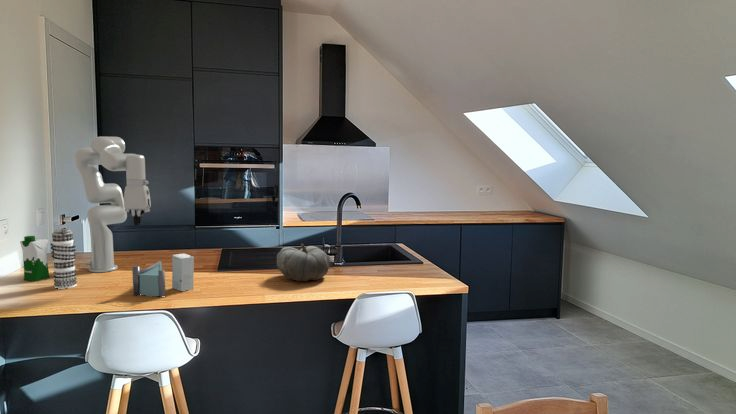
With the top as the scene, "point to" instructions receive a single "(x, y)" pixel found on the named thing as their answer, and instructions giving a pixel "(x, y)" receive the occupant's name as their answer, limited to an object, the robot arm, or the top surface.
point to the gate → (152, 269)
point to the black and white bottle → (63, 259)
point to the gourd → (303, 263)
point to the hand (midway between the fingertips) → (137, 224)
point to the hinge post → (136, 280)
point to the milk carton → (35, 258)
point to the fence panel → (153, 284)
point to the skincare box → (182, 272)
